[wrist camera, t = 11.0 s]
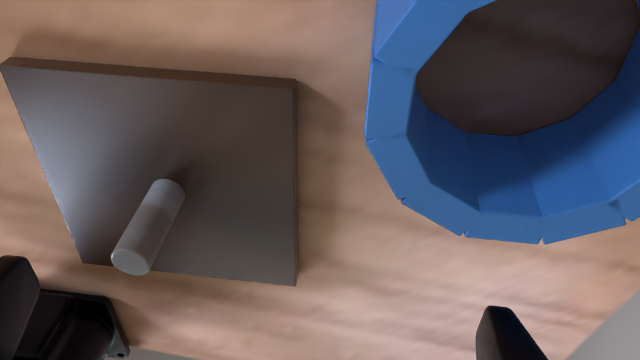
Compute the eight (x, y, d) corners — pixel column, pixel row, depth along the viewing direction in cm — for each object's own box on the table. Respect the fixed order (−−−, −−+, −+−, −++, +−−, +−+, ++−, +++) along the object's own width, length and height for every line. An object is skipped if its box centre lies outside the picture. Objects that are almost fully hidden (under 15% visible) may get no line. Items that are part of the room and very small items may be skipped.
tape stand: (298, 275, 27) (281, 361, 23) (89, 252, 28) (38, 331, 24) (296, 78, 20) (270, 157, 16) (9, 56, 21) (-84, 125, 17)
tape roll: (608, 170, 21) (654, 257, 17) (362, 148, 21) (355, 227, 18) (750, -113, 14) (875, -71, 10) (388, -129, 15) (385, -95, 11)
